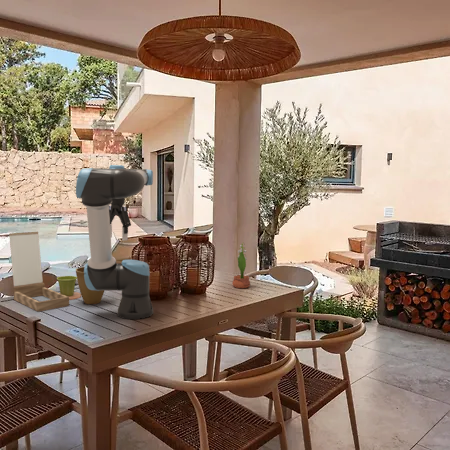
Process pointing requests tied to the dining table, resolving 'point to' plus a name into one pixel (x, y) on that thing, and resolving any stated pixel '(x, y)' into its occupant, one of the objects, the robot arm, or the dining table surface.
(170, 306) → the dining table surface
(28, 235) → the frame lid
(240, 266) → the potted flower
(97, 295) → the plant pot
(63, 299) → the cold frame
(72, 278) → the plant pot
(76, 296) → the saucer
